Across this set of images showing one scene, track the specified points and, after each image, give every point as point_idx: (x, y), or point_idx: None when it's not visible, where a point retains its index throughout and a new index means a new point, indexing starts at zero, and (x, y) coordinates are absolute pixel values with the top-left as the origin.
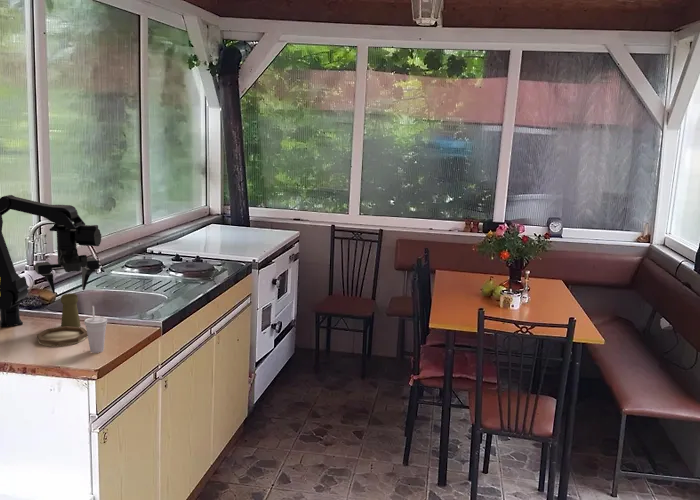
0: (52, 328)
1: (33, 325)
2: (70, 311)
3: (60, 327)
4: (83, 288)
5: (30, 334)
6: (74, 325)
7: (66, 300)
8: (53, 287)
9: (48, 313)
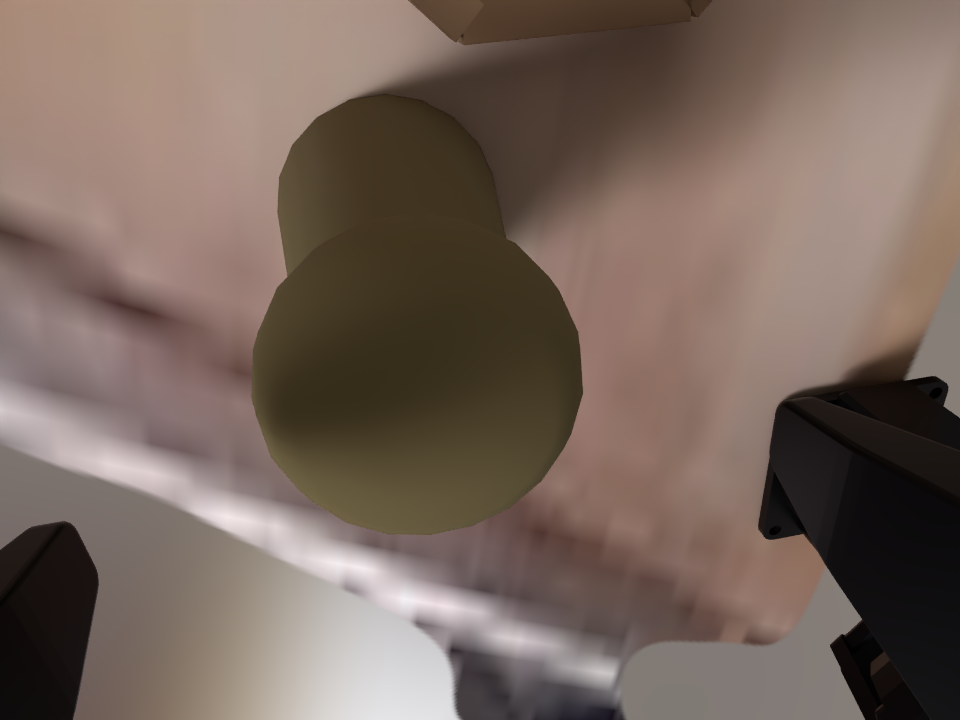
0: (641, 9)
1: (710, 358)
2: (408, 180)
3: (544, 8)
4: (43, 544)
5: (823, 74)
6: (353, 110)
7: (502, 247)
8: (934, 466)
9: (527, 617)
